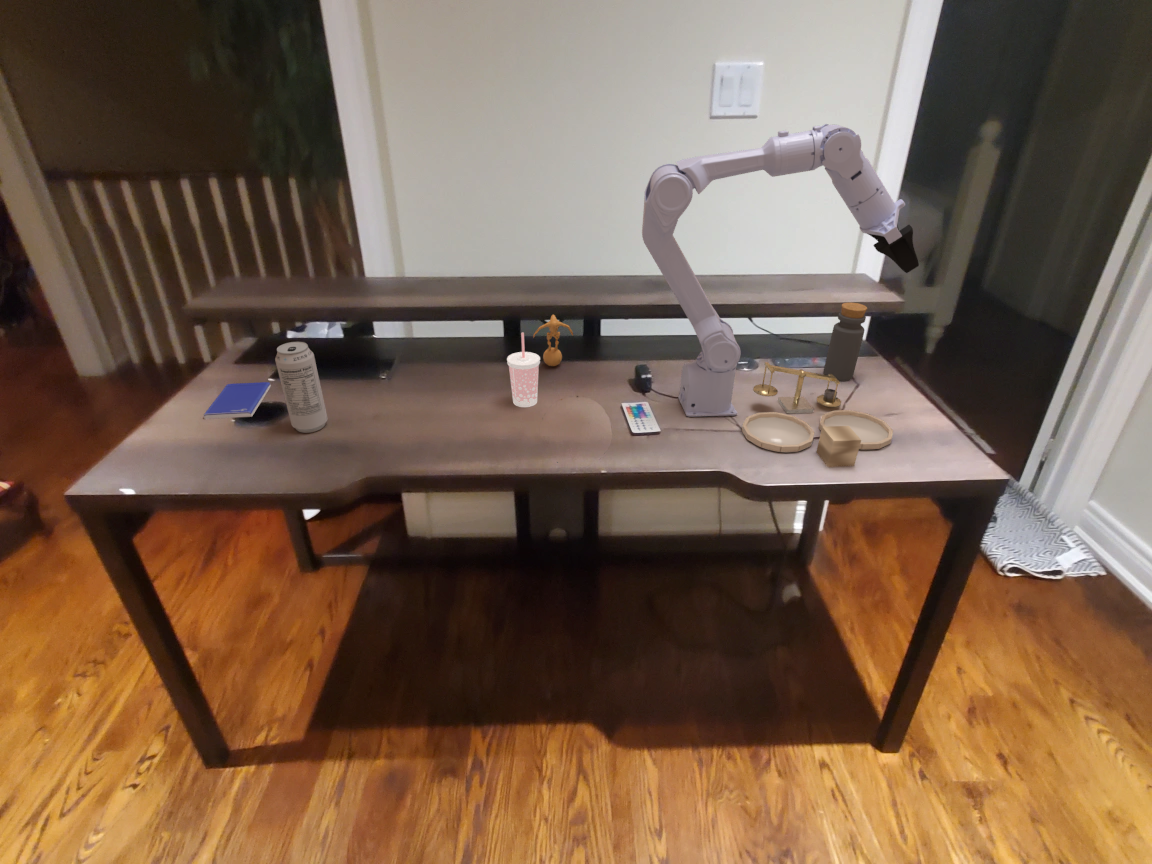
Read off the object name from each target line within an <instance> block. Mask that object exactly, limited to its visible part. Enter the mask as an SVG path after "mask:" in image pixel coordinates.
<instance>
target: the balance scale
mask: <svg viewBox="0 0 1152 864" xmlns="http://www.w3.org/2000/svg"><path fill="white" fill-rule="evenodd" d="M764 365H765V366H764V373H763V379H762V383H760V384H756V385H754V386H753V389H752V391H753V392H754V394H757V395H759V396H762V397H774V396H776V395H778V392H779V391H778V388H777V387H775V386H773V385H772V379H773V373H774V374H775V372H779V373H782V374H783V373H784V374H789V375H794V376H796V375H797V376H798V378H797V383H796V386H795V387H796V388H795V392H794V396H781V397H779V396H778V397H777V402H778V404H779V405H780V406H781V408H782V409H783V410H784V412H785V414H787V415H791V414H813V413H814V411H815V409H814V407H813V406H812V405H811V404H810V402H809V401H808V400H807V399H806V397H805V396H801V394H802V389H803V385H804V379H805V377H807V378H812V379H817V380H823V381H827V386H826V388H825V389H824V393H823V394H821V395H818V396H817V397H816V402H817V403H818V404H820V405H822V406H825V407H829V408H837V407H839V406H841V405H842V400H841V399H840V398H839V397H837V395H838V390H837V389H838V386H839V385H840V384H841V381H838V380H837V379H836V378H835V377H834V376H833V375H832V374H829V375H824V374H822V373H816V372H809V371H805V370H803V369H802V368H801V369H794V368H789V367H783V366H779V365H778V366H777V365H774V364H772V365H771V364H770V363H769V362H768V361H767V362H766V361H765V362H764ZM767 370H768V371H769V372H770V380H769V384H765V378H766V373H767ZM830 382H833V383H834V384H835V385H836V386H835V389H833V388H829V386H830Z"/></svg>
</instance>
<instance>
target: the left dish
mask: <svg viewBox="0 0 1152 864" xmlns="http://www.w3.org/2000/svg"><path fill="white" fill-rule="evenodd" d="M741 432H742V433H743V435H744V437H745V438H746V440H747V441H749V442H751V443H752V444H753V445H755V446H757V447H760V448H762V449H764V450H767V451H772V452H777V453H794V452H796V453H797V452H800V451H803V450H804V449H807V448H809V447H811V446H812V445H813V440H814V438H815V431H814V429H813V428H812V427H811V425H810V424H809V423H808V422H807V421H804V420H802V419H801V418H798V417H797V416H794V415H791V414H787V413H782V412H776V411H768V412H767V411H766V412H765V411H763V412H757V413H754V414H751V415H749V416H747V417H746V418H745V419H744V422H743V423H742V425H741Z"/></svg>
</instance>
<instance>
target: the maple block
mask: <svg viewBox="0 0 1152 864" xmlns="http://www.w3.org/2000/svg"><path fill="white" fill-rule="evenodd" d="M860 443H861V439H860V438H859V437H858V436H857V435H856V433H855V432H854V431H853V430H852V429H851V428H850V427H849V426H830V427H822V430H820V435H819V440H818V443H817V448H816V454H817V455H818V456H819V458H820V459H821V460H822V462H823V464H824V465H825V467H827V468H835V467H836V468H840V467H855V465H856V460H857V456H858V453H859V450H860V449H859V447H860Z"/></svg>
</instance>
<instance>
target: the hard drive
mask: <svg viewBox="0 0 1152 864" xmlns="http://www.w3.org/2000/svg"><path fill="white" fill-rule="evenodd" d="M271 386H272V385H271V383H270V382H267V381H262V382H245V383H243V382H242V383H228V384H226V385H225V386H224V388H223V389H222V390H221V392H220V393H219V395H218V396H217V397H216V398H215V399H214V401H213V402H212V403H211V404H210V406H208V409H207V410H206V411H205V413H204V414H203V418H204V420H211V419H213V420H214V419H229V418H230V419H232V418H250V417H251V418H252V417H253V415H254V414H255V412H256V411H257V409H258V407H259V406H260V405H261V403H262V402H263V399H264V398H265V396H266V395H267V393H268V391H269V390H270V389H271Z"/></svg>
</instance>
